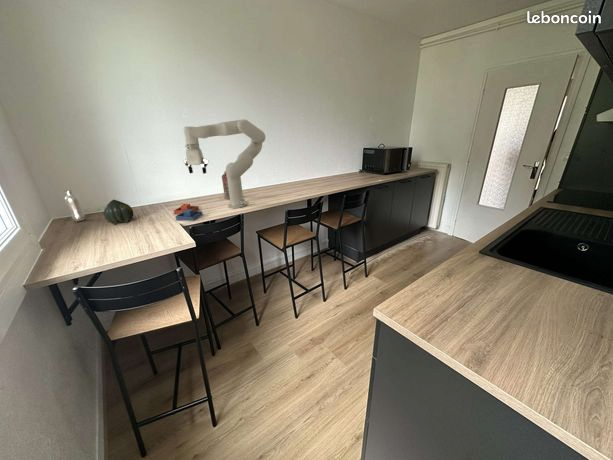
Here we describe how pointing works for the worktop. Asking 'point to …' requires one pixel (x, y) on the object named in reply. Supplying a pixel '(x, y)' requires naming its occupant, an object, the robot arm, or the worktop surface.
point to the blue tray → (182, 217)
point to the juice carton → (225, 186)
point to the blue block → (188, 213)
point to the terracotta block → (185, 206)
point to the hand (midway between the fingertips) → (198, 173)
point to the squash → (118, 212)
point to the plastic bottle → (74, 206)
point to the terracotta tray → (179, 211)
